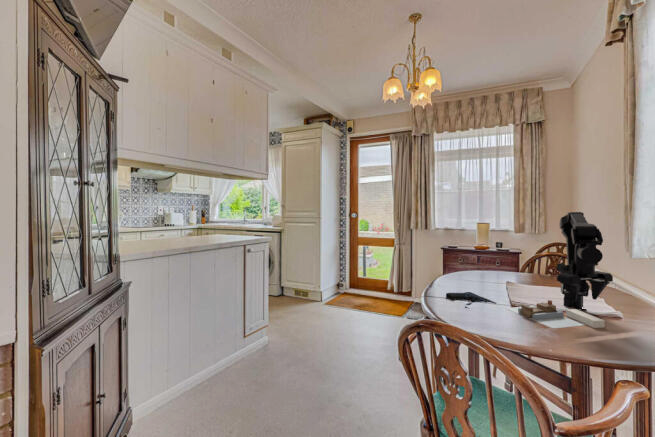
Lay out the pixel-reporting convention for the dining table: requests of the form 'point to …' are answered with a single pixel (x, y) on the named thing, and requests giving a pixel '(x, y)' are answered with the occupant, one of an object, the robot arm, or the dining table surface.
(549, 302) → the brown box with tab
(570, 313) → the long cream prism
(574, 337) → the dining table surface
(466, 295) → the gun
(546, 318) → the jig board
